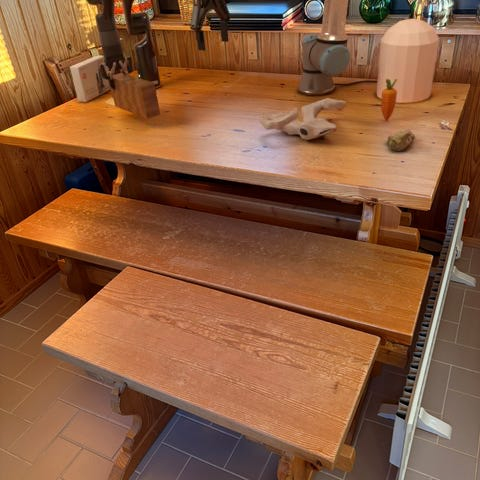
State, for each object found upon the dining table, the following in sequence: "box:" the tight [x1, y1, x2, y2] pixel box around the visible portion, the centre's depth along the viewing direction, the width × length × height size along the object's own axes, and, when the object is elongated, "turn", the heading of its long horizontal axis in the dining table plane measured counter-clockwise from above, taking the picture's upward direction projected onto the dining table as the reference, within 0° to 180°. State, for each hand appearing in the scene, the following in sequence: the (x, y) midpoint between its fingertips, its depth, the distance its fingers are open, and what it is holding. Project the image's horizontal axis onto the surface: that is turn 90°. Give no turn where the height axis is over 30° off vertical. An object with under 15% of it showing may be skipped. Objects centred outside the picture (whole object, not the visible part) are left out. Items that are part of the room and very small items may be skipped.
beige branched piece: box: [259, 97, 347, 141], centre depth 160 cm, size 28×26×12 cm
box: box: [110, 72, 161, 120], centre depth 181 cm, size 25×6×12 cm, turn 41°
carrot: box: [380, 79, 397, 122], centre depth 161 cm, size 5×5×15 cm
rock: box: [387, 129, 416, 152], centre depth 146 cm, size 11×6×10 cm
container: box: [375, 18, 440, 104], centre depth 179 cm, size 21×21×28 cm
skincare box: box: [69, 54, 111, 103], centre depth 218 cm, size 21×6×16 cm, turn 158°
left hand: (120, 86), depth 186 cm, fingers closed on box, 6 cm apart
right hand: (213, 45), depth 168 cm, fingers open, 13 cm apart
